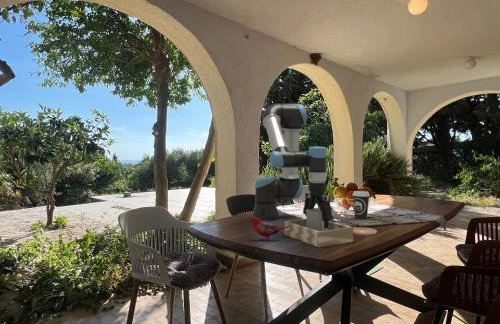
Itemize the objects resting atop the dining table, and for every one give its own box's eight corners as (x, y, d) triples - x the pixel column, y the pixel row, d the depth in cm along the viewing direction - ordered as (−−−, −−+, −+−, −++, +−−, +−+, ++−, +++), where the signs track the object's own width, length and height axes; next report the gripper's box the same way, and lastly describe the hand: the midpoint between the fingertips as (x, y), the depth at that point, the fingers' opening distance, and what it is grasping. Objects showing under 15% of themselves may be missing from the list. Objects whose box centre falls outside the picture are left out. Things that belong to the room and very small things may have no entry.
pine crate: (283, 234, 156) (283, 221, 155) (315, 230, 164) (315, 217, 164) (319, 247, 134) (319, 232, 134) (353, 241, 143) (353, 227, 143)
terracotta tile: (344, 230, 162) (344, 228, 162) (362, 228, 168) (362, 226, 168) (363, 236, 152) (363, 234, 152) (382, 233, 158) (382, 231, 158)
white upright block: (314, 234, 156) (314, 207, 156) (332, 237, 149) (332, 209, 149) (301, 237, 149) (301, 209, 149) (320, 241, 143) (320, 212, 142)
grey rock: (332, 228, 185) (338, 215, 179) (317, 222, 187) (322, 209, 181) (334, 217, 192) (340, 205, 186) (320, 211, 194) (325, 199, 188)
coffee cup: (372, 219, 189) (372, 192, 189) (354, 219, 189) (355, 192, 189) (366, 216, 199) (366, 190, 198) (350, 216, 199) (350, 190, 198)
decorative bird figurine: (249, 238, 148) (249, 215, 148) (290, 239, 146) (290, 216, 146) (248, 240, 145) (248, 217, 145) (290, 241, 143) (290, 217, 143)
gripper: (295, 180, 157) (294, 229, 157) (328, 184, 137) (327, 239, 138) (308, 179, 160) (307, 227, 161) (341, 183, 141) (341, 237, 141)
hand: (317, 233), depth 149 cm, fingers closed on white upright block, 9 cm apart
